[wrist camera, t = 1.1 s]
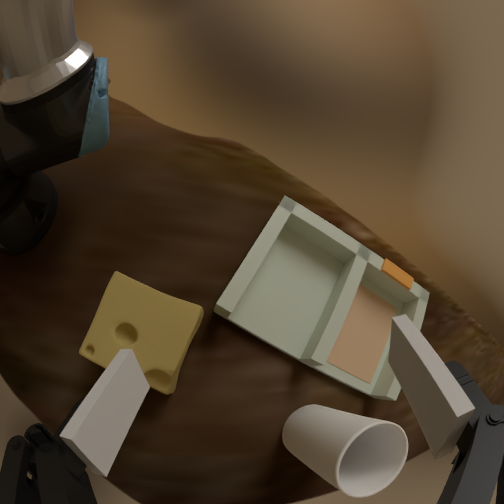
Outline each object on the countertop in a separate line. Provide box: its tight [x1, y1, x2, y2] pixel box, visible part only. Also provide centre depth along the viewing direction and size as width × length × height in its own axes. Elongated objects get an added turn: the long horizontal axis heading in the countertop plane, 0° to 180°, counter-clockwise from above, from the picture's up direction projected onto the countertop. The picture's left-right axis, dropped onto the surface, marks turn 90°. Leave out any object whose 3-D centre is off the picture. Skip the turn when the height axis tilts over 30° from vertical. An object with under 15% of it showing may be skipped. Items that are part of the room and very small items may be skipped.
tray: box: [214, 196, 429, 401], centre depth 37 cm, size 18×28×6 cm, turn 61°
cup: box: [282, 405, 408, 498], centre depth 25 cm, size 8×8×16 cm
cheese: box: [79, 271, 203, 395], centre depth 29 cm, size 10×11×10 cm
